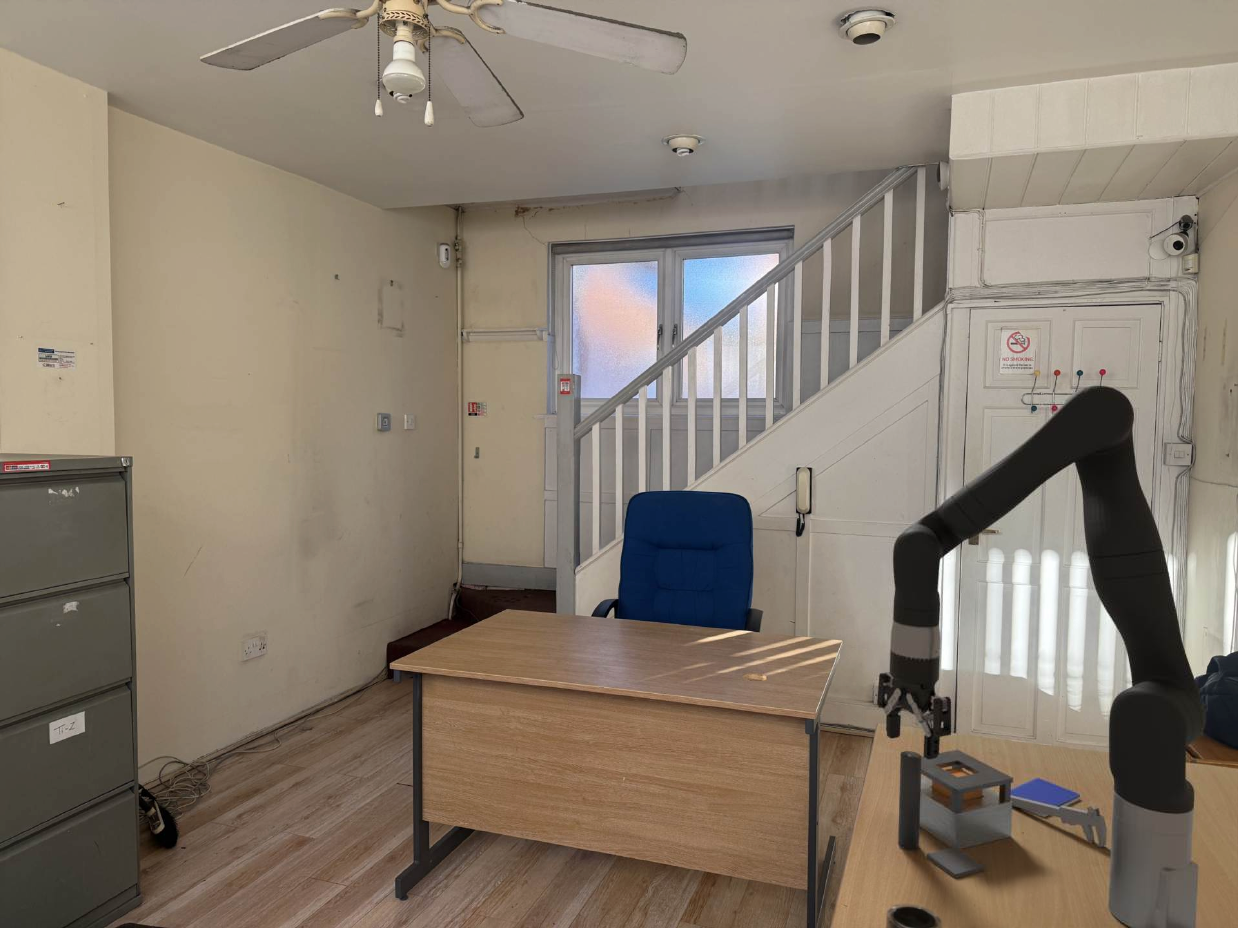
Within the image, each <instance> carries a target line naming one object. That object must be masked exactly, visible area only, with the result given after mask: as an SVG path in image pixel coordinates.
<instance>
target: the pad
mask: <svg viewBox="0 0 1238 928" xmlns="http://www.w3.org/2000/svg"><path fill="white" fill-rule="evenodd" d="M925 856H926V859H927V860H929V861H931V863H933V864H935V865H936V866H938V867H939V868H940V869H941V870H943V871H945V872H946V873H947V874H949V875H950V876H952V878H954V879H957V878H961V877H965V876H969V875H971V874H976V873H979V872H984V871H986V866H985V865H984V864H982V863H981V862H979V861H978V860H976V859H975V858H973V857H972V856H970V855H969V854H967V853H966V852H964V851H963V850H962V849H958V848H957V847H952V848H951V847H948V848H945V849H940V850H937V851H933V852H929V853H926V854H925Z"/></svg>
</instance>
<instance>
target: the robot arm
mask: <svg viewBox="0 0 1238 928" xmlns="http://www.w3.org/2000/svg"><path fill="white" fill-rule="evenodd" d="M1134 423H1135V411H1134V408H1133V405H1132V403H1131V401H1130V400H1129V398H1128V397H1127V396H1126V395H1125V394H1124V393H1123V392H1121V391H1120V390H1118V389H1117V388H1115V387H1111V386H1107V385H1106V386H1105V385H1090V386H1087V387H1086V386H1085V387H1083V388H1080V389H1079V390H1077V391H1075V392H1073V393H1072V394H1071V395H1070V396H1069V397H1067V399H1066V400H1065V402H1064V403H1063V404H1062V405H1061V407H1059V408H1058V409H1057V411H1056V412H1054V414H1053V415H1052V416H1050V418H1049V419H1048V420H1047V421H1046V422H1045V423H1043V425H1042V426H1041V427H1040V428H1039V429H1038V430H1037V431H1035V432H1034V433H1033V435H1031V436H1030V437H1028V439H1026V440H1025V441H1024V442H1023V443H1022V444H1021V445H1019V446H1018V447H1016V448H1015V449H1014V450H1013V451H1012V452H1010V453H1009V454H1007V455H1006V456H1004V457H1003V458H1002V459H1001V460H999V461H998V462H996V463H995V464H993V465H992V466H990V467H988V469H986V470H985V471H984V472H982V473H980V474H979V475H978V476H976V477H975V478H973V479H972V480H971V481H970V482H968V483H966V484H965V485H964V486H963V487H961V488H960V489H959V490H957V491H956V492H954V493H953V494H952V495H951V496H950V497H948V498H947V499H946V500H945V501H943V502H942V504H940V505H939V506H938V507H937V508H935V509H934V510H932V511H931V512H929V513H927V514H926V515H924V516H923V517H921V518H920V519H919V520H917V521H916V522H914V523H913V524H911V525H910V526H908V527H907V528H906V529H904V530H903V532H901V533H900V534H899V535H898V536H897V538H896V540H895V542H894V545H893V551H892V552H893V553H892V566H893V567H892V568H893V569H892V570H893V582H894V596H893V614H892V615H893V616H892V617H893V618H892V625H891V629H890V645H889V647H890V648H889V652H890V653H889V671H887V672H886V671H885V672H880V673H879V675H878V688H877V697H876V698H877V699H876V705H877V707H878V708H882V709H883V711H884V712H883V713H884V714H885V716H886V717H885V719H886V720H885V721H886V722H885V731H886V736H887V738H890V739H897V738H900V737H901V723H902V720H901V719H902V715H901V712H902V711H903V710H905V711H908V712H909V713H910V714H913V715H914V717H915V719H916V721H917V723H919V724H920V725H921V727H922V729H923V732H924V734H923V735H924V737H923V756H924V757H925V758H926V759H928V760H929V759H934V758H937V756H938V755H939V753H940V745H941V744H940V743H941V741H940V740H941V739H940V738H941V737H948V736H951V735H952V699H951V698H950V696H942V697H941V696H939V695H937V694H936V691H935V686H936V684H937V682H938V681H939V679H940V662H941V659H940V658H941V641H942V640H941V630H940V620H941V619H940V618H941V617H940V616H941V597H940V592H939V577H940V565H941V560H942V558H944V557H945V556H946V555H948V553H950V552H951V551H953V550H954V549H955V548H957V547H958V546H959V545H961V544H962V543H963V542H965V541H966V540H970V539H973V538H974V537H976V536H978V535H980V534H981V533H982V532H983V531H985V530H986V529H988V528H989V527H991V526H992V525H993V524H995V523H996V522H998V521H1000V520H1001V519H1002V518H1003V517H1005V516H1007V514H1009V513H1010V512H1011V511H1012V510H1014V509H1015V508H1016V507H1017V506H1019V505H1020V504H1021V503H1022V502H1024V501H1025V500H1026V499H1027V498H1028V497H1029V496H1030V495H1031V494H1033V493H1034V492H1035V491H1036V490H1037V489H1038V488H1040V487H1041V486H1042V485H1043V484H1045V483H1046V482H1047V481H1048V480H1049V479H1051V478H1052V477H1054V476H1055V475H1057V474H1058V473H1060V472H1061V471H1062V470H1064V469H1066V468H1067V467H1069V466H1071V465H1072V464H1075V468H1076V470H1077V475H1078V479H1079V481H1080V487H1081V494H1082V508H1083V509H1082V510H1083V511H1082V512H1083V529H1084V536H1085V538H1084V540H1085V546H1086V552H1087V557H1088V561H1089V562H1088V563H1089V567H1090V568H1089V569H1090V572H1091V577H1092V581H1093V585H1094V588H1095V591H1096V594H1097V596H1098V598H1099V600H1100V602H1101V605H1102V606H1103V607H1104V609H1105V611H1106V613H1107V614H1108V616H1109V618H1110V620H1111V621H1112V623H1113V624H1114V626H1115V627H1116V629H1117V631H1118V633H1119V634H1120V636H1121V638H1122V641H1123V644H1124V646H1125V649H1126V650H1125V651H1126V654H1127V659H1128V665H1129V669H1130V675H1131V676H1130V677H1131V687H1129V688H1126V689H1124V690H1122V691H1121V692H1119V693H1118V694H1117V695H1116V697H1114V700H1113V701H1112V703H1111V707H1110V711H1109V719H1108V722H1109V723H1108V764H1109V765H1108V766H1109V769H1110V772H1111V775H1112V778H1113V799H1112V800H1113V801H1112V818H1111V820H1112V822H1111V844H1110V861H1109V862H1110V865H1109V886H1108V887H1109V889H1108V893H1109V894H1108V909H1109V912H1110V913H1111V914H1112V915H1113V916H1114V917H1115V918H1116V919H1117V920H1118V921H1119V922H1121V923H1123V924H1124V925H1126V926H1128V927H1129V928H1196V924H1197V905H1198V904H1197V903H1198V886H1199V882H1198V881H1199V870H1200V869H1199V865H1198V863H1197V862H1195V861H1193V860H1192V854H1193V852H1192V850H1193V830H1194V829H1193V828H1194V809H1195V789H1194V786H1193V785H1192V783H1191V782H1190V781H1189V780H1187V777H1186V776H1187V775H1186V773H1187V772H1186V770H1187V766H1186V764H1187V747H1188V746H1189V745H1190V744H1193V742H1195V741H1196V740H1198V739H1199V738H1200V737H1201V735H1202V734H1203V732H1204V730H1205V728H1206V727H1205V726H1206V722H1207V720H1206V719H1207V717H1206V716H1207V715H1206V709H1205V706H1204V702H1203V700H1202V699H1203V698H1202V697H1201V693H1200V691H1199V690H1200V689H1199V688H1198V685H1197V682H1196V679H1195V677H1194V674H1193V670H1192V668H1191V666H1190V662H1189V658H1188V657H1187V652H1186V650H1185V647H1184V643H1183V640H1182V638H1183V637H1182V634H1181V629H1180V628H1181V627H1180V622H1179V617H1178V613H1177V608H1176V602H1175V599H1174V594H1173V591H1172V590H1173V589H1172V585H1171V584H1172V583H1171V578H1170V571H1169V566H1168V563H1167V559H1166V555H1165V551H1164V546H1163V542H1162V538H1161V535H1160V532H1159V529H1158V525H1157V523H1156V520H1155V518H1154V515H1153V513H1152V510H1151V507H1150V505H1149V503H1148V500H1147V498H1146V496H1145V493H1144V491H1143V489H1142V486H1141V483H1140V478H1139V475H1138V469H1137V463H1136V462H1137V461H1136V455H1135V445H1134V435H1133V432H1134V431H1133V430H1134V429H1133V427H1134ZM927 712H928V713H929V714H926V713H927ZM925 714H926V715H925ZM929 722H930V723H931V725H930V723H929ZM931 726H932V727H931ZM942 726H943V727H942Z"/></svg>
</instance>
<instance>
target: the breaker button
mask: <svg viewBox="0 0 1238 928" xmlns="http://www.w3.org/2000/svg"><path fill="white" fill-rule="evenodd" d="M945 770H946V771H947V772H949V773H951V774H953V775H955V776H956V777H961V776H966V775H971V773H968V772H967V771H965V770H964V769H963V768H962V769H960V768H958V767H957V768H952V767H951V768H947V769H945ZM932 788H933V789H934V790H936V791H938V792H939V793H941V794H943V795H944V796H946V797H948V798H950V799H951V795H952V791H950V790H948V789H947V788H945V787H943V786H941V785H940V784H938V783H936V782H935V781H933V780H932ZM982 792H983V789H981V790H977V791H972V792H968V793H963V801H967V800H972V799H976V798H981V797H982Z"/></svg>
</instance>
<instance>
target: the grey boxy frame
mask: <svg viewBox="0 0 1238 928" xmlns="http://www.w3.org/2000/svg"><path fill="white" fill-rule="evenodd" d="M921 756H922V755H921ZM949 767H951V769H952V768H957V767H958V768H960V769H962V770H964V769H965V770H966V771H968V772H970V774H971V773H972V774H971V775H966V776H961V777H956V776H955V775H953V774H951V773H949V772H947V771H946V770H947V769H944V768H949ZM921 775H923V776H924V777H923V778H922V777H921V794H920V826H919V828H921V829H923V830H925V831H926V832H928V833H929V834H931V836H934V837H935V838H936V839H938V841H939V840H940V841H941V842H943V843H944V844H946V845H947V846H948V847H949V848H952V847H957V848H958V849H960V850H962V849H965V848H970V847H975V846H977V845H982V844H985V843H989V842H993V841H997V840H1001V839H1006V838H1009V837H1010V838H1011V837H1012V815H1013V813H1012V812H1013V806H1012V801H1011V800H1010V797H1011V789H1012V784H1013V783H1014V777H1012V776H1010V775H1008V774H1007V773H1004V772H1002V771H1000V770H998V769H996V768H994V767H993V766H991V765H989V764H987V763H985V762H982V761H981V760H979V759H977V758H975V757H973V756H971V755H969V754H967V753H965V752H963V751H962V750H959V749H955V750H954V749H953V750H949V751H944V752H939V755H938V756H937V758H934V759H929V760H928V759H926V758H925V757H924V755H923V756H922V761H921ZM932 780H933V781H935V782H936V783H938V784H940V785H941V786H943V787H945V788H947V789H948V790H950V791H952V795H951V799H950V798H948V797H946V796H944V795H943V794H941V793H939V792H938V791H936V790H934V789H933V788H932ZM994 787H999V789H998V790H999V791H998V792H999V794H998V793H997V792H996V791H994V790H992V789H990V788H994ZM981 789H983V792H982V797H981V798H976V799H972V800H967V801H963V793H968V792H972V791H977V790H981Z"/></svg>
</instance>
